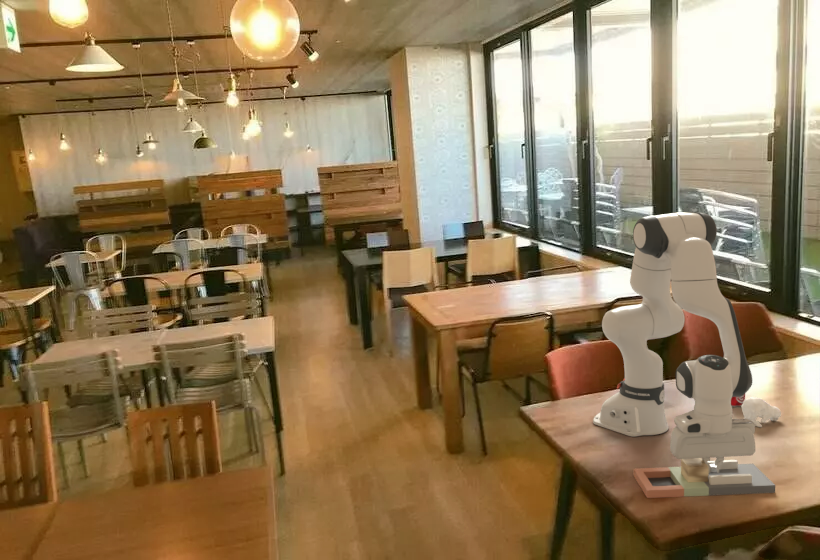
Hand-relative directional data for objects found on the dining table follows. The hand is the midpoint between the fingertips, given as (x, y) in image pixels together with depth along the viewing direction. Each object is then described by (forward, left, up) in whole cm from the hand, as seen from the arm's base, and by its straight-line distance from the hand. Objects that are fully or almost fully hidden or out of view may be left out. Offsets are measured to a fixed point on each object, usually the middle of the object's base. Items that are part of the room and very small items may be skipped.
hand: (712, 472), depth 173 cm
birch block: (-3, -3, -1) cm, 5 cm away
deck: (-2, -2, -3) cm, 4 cm away
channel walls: (+2, +2, -1) cm, 3 cm away
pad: (-5, -4, -3) cm, 7 cm away
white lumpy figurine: (-1, +47, -4) cm, 48 cm away
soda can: (-13, +58, -3) cm, 60 cm away
